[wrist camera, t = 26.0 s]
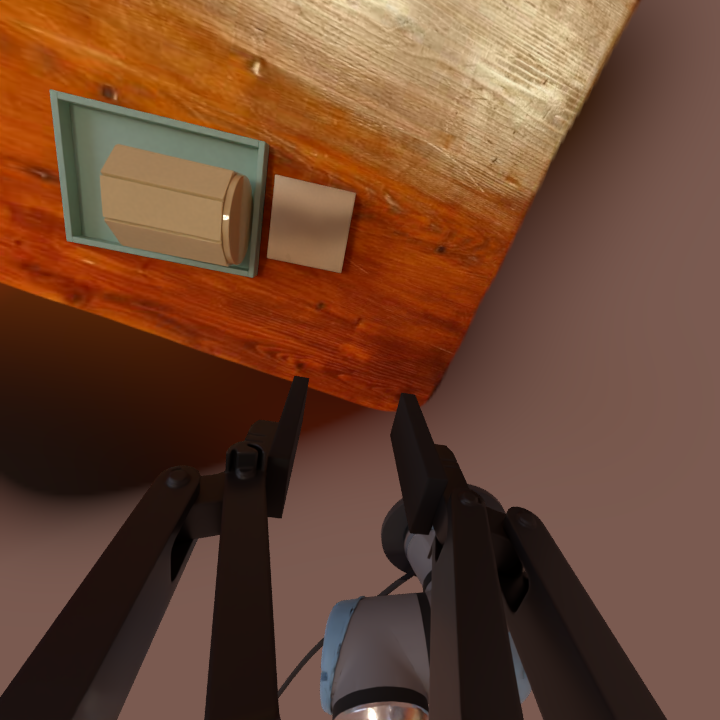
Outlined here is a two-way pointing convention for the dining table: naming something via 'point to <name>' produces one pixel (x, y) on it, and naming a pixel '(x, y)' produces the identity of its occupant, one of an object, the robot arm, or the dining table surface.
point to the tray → (152, 133)
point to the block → (309, 223)
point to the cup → (176, 206)
